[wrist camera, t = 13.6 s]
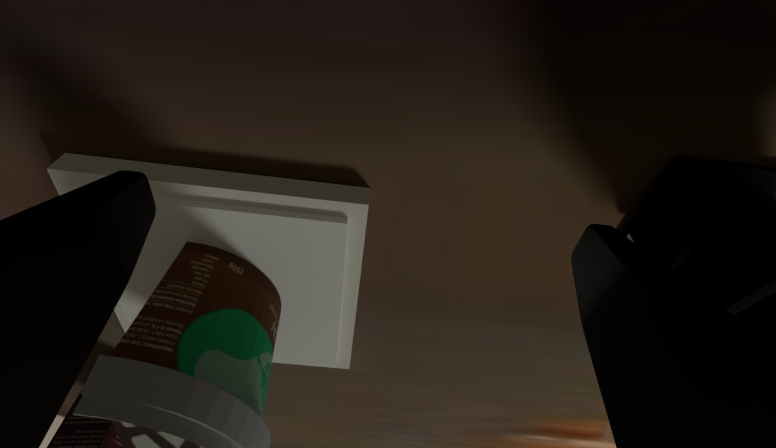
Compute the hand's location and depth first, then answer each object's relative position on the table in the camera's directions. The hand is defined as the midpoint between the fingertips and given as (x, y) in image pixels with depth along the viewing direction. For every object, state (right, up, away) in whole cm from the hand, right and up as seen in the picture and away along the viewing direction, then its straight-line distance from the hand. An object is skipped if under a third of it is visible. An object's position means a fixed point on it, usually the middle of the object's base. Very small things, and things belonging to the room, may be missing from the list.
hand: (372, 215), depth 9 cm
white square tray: (-10, -3, +19) cm, 22 cm away
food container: (-8, -5, +18) cm, 20 cm away
